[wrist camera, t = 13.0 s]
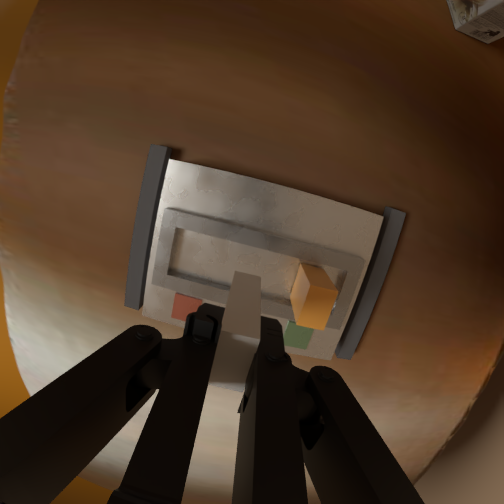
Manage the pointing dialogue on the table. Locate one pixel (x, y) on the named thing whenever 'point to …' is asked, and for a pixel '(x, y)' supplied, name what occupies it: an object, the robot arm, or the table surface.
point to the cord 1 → (145, 224)
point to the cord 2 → (371, 282)
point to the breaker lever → (312, 297)
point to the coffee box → (478, 18)
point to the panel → (254, 249)
